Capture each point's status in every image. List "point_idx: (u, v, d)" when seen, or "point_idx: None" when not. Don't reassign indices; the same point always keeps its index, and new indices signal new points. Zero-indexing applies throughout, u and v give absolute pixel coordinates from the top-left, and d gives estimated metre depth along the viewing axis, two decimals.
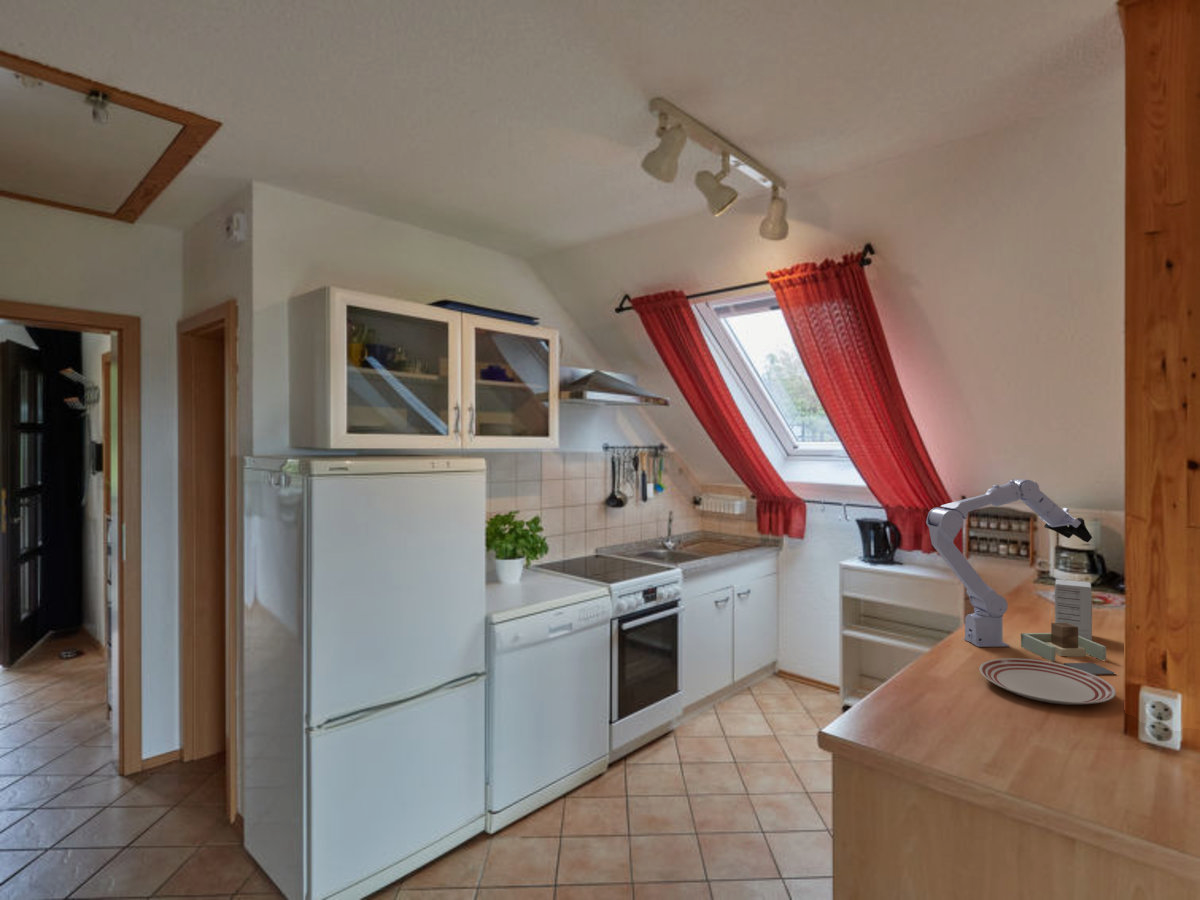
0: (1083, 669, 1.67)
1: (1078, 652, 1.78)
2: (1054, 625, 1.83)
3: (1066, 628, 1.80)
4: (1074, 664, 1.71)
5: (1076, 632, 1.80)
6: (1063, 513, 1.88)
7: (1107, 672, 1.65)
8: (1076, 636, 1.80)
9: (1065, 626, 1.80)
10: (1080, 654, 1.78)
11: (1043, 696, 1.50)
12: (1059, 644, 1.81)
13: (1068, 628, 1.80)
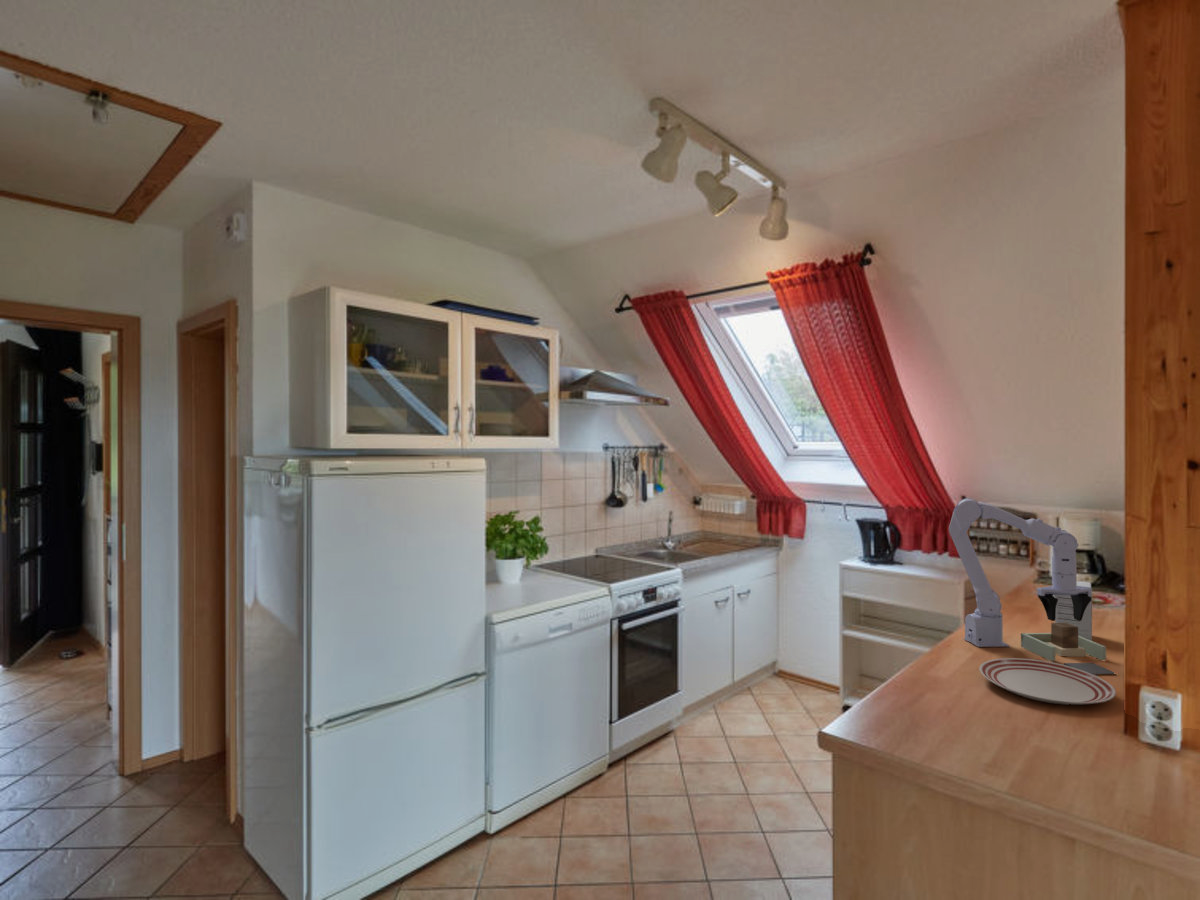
0: (1083, 669, 1.67)
1: (1078, 652, 1.78)
2: (1054, 625, 1.83)
3: (1066, 628, 1.80)
4: (1074, 664, 1.71)
5: (1076, 632, 1.80)
6: (1059, 586, 1.80)
7: (1107, 672, 1.65)
8: (1076, 636, 1.80)
9: (1065, 626, 1.80)
10: (1080, 654, 1.78)
11: (1043, 696, 1.50)
12: (1059, 644, 1.81)
13: (1068, 628, 1.80)
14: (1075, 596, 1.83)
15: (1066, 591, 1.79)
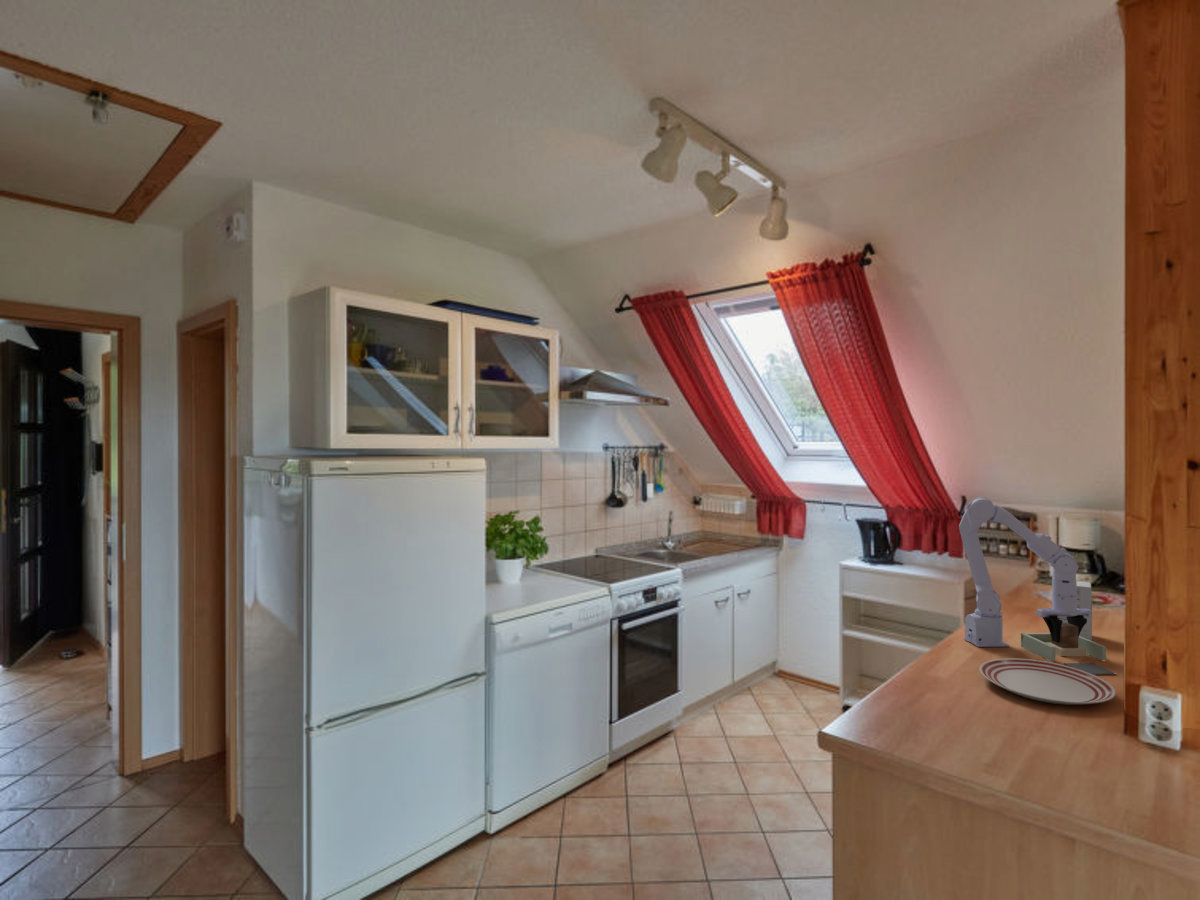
0: (1083, 669, 1.67)
1: (1078, 652, 1.78)
2: None
3: (1066, 628, 1.80)
4: (1074, 664, 1.71)
5: (1076, 632, 1.80)
6: (1059, 608, 1.81)
7: (1107, 672, 1.65)
8: (1076, 636, 1.80)
9: (1065, 626, 1.80)
10: (1080, 654, 1.78)
11: (1043, 696, 1.50)
12: (1059, 644, 1.81)
13: (1068, 628, 1.80)
14: (1071, 617, 1.83)
15: (1066, 613, 1.79)
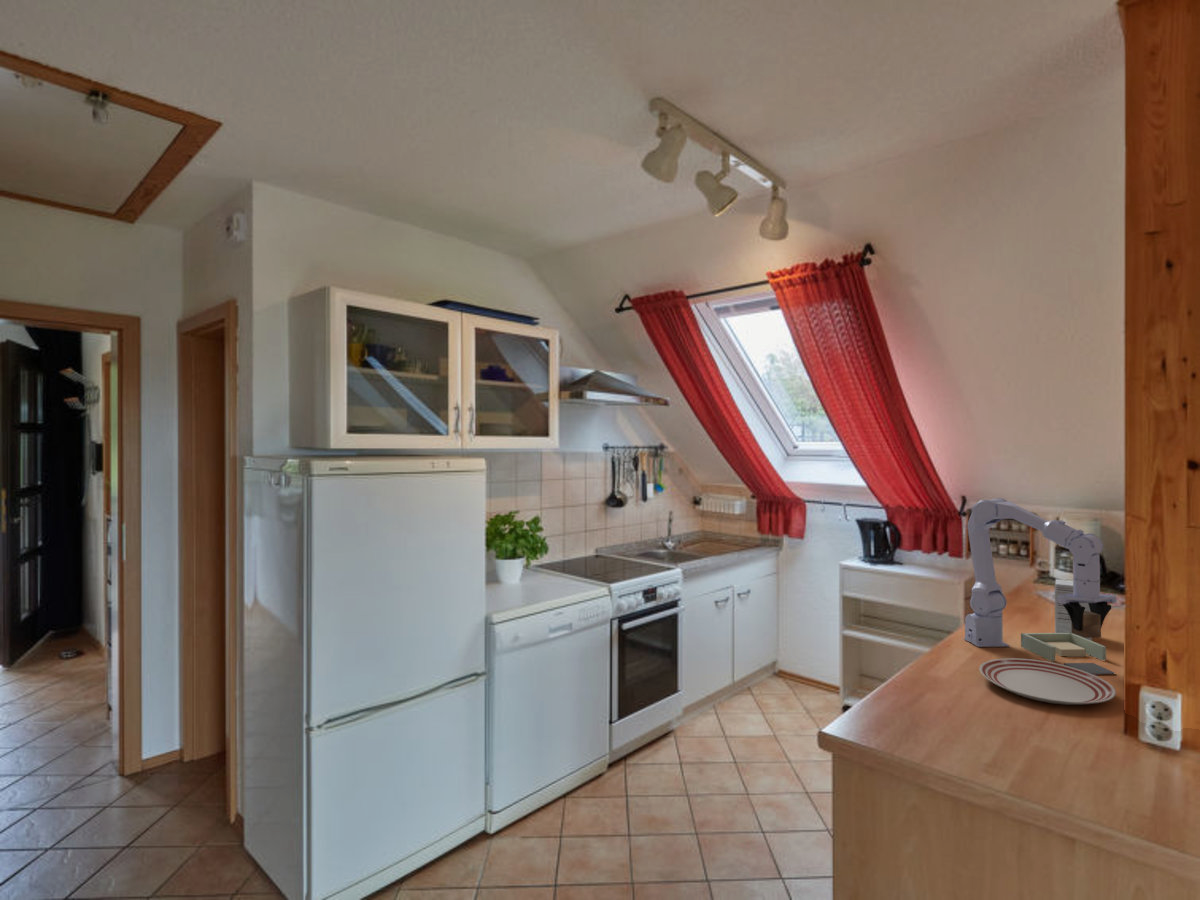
0: (1083, 669, 1.67)
1: (1078, 652, 1.78)
2: None
3: (1088, 616, 1.68)
4: (1074, 664, 1.71)
5: (1098, 620, 1.68)
6: (1081, 593, 1.68)
7: (1107, 672, 1.65)
8: (1098, 625, 1.68)
9: (1086, 614, 1.68)
10: (1080, 654, 1.78)
11: (1043, 696, 1.50)
12: (1080, 633, 1.69)
13: (1090, 616, 1.68)
14: (1093, 604, 1.70)
15: (1089, 599, 1.67)
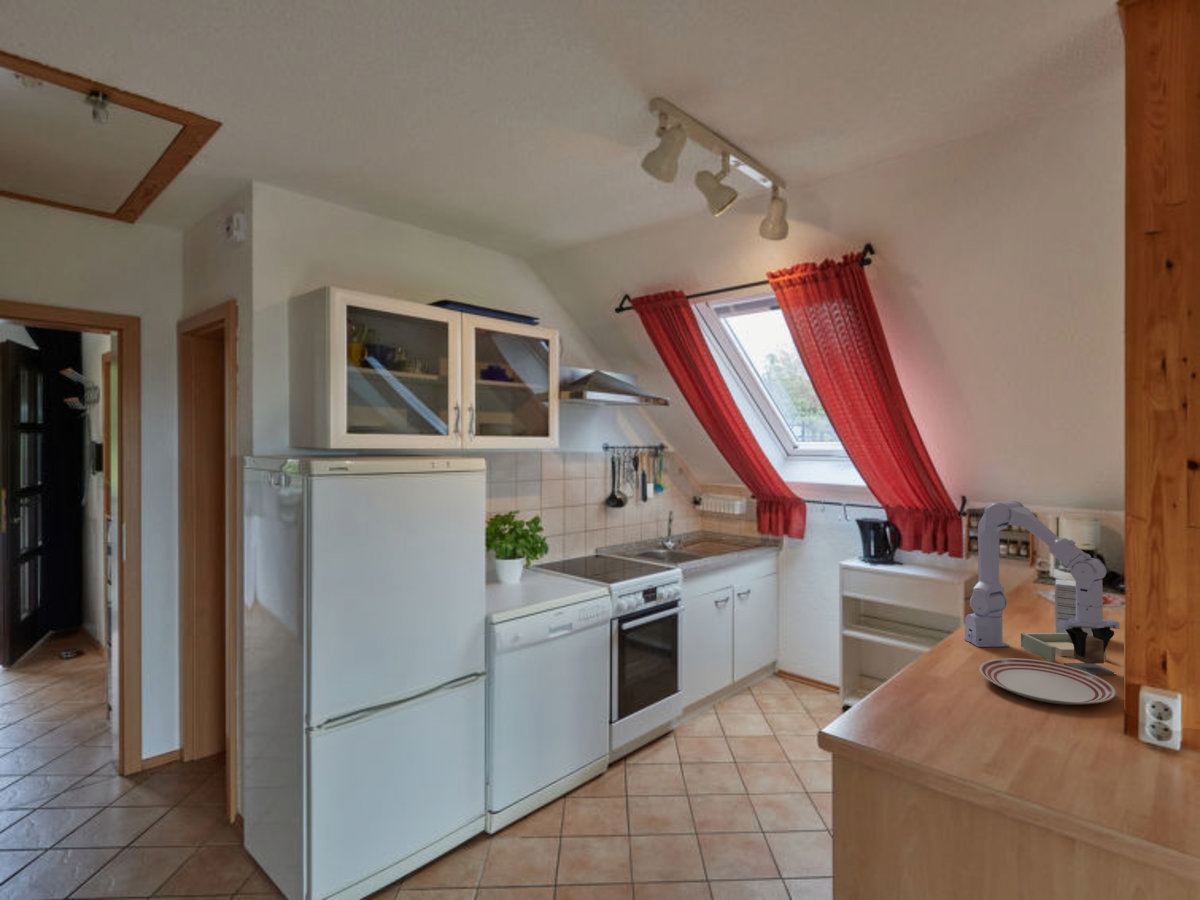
0: (1083, 669, 1.67)
1: None
2: None
3: (1090, 642, 1.66)
4: (1074, 664, 1.71)
5: (1101, 646, 1.66)
6: (1084, 619, 1.67)
7: (1107, 672, 1.65)
8: (1101, 650, 1.66)
9: (1089, 640, 1.67)
10: None
11: (1043, 696, 1.50)
12: (1083, 659, 1.67)
13: (1092, 642, 1.66)
14: (1096, 629, 1.69)
15: (1092, 625, 1.65)
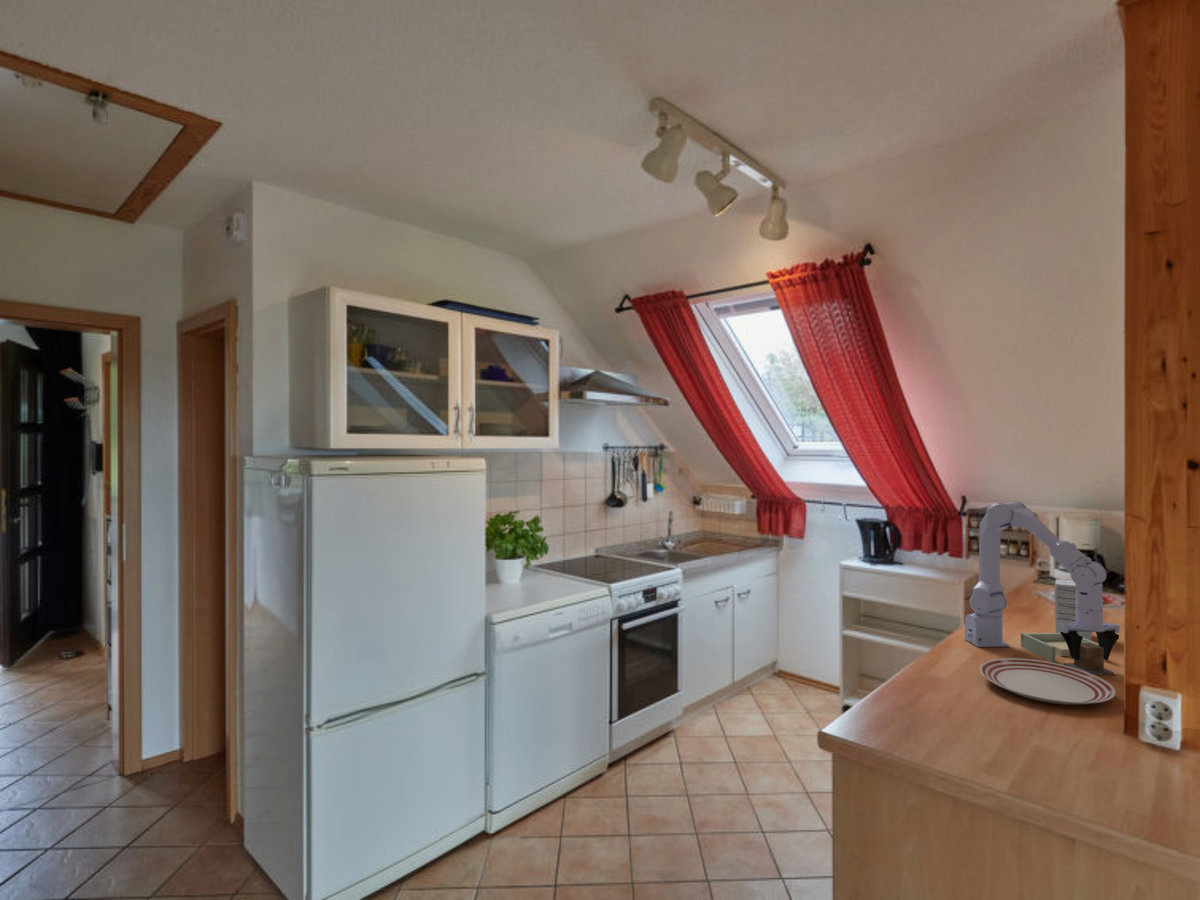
0: (1083, 669, 1.67)
1: None
2: None
3: (1091, 649, 1.66)
4: None
5: (1101, 654, 1.66)
6: (1084, 623, 1.67)
7: (1107, 672, 1.65)
8: (1101, 658, 1.66)
9: (1089, 647, 1.67)
10: None
11: (1043, 696, 1.50)
12: (1083, 666, 1.67)
13: (1093, 649, 1.66)
14: (1101, 633, 1.69)
15: (1092, 628, 1.65)
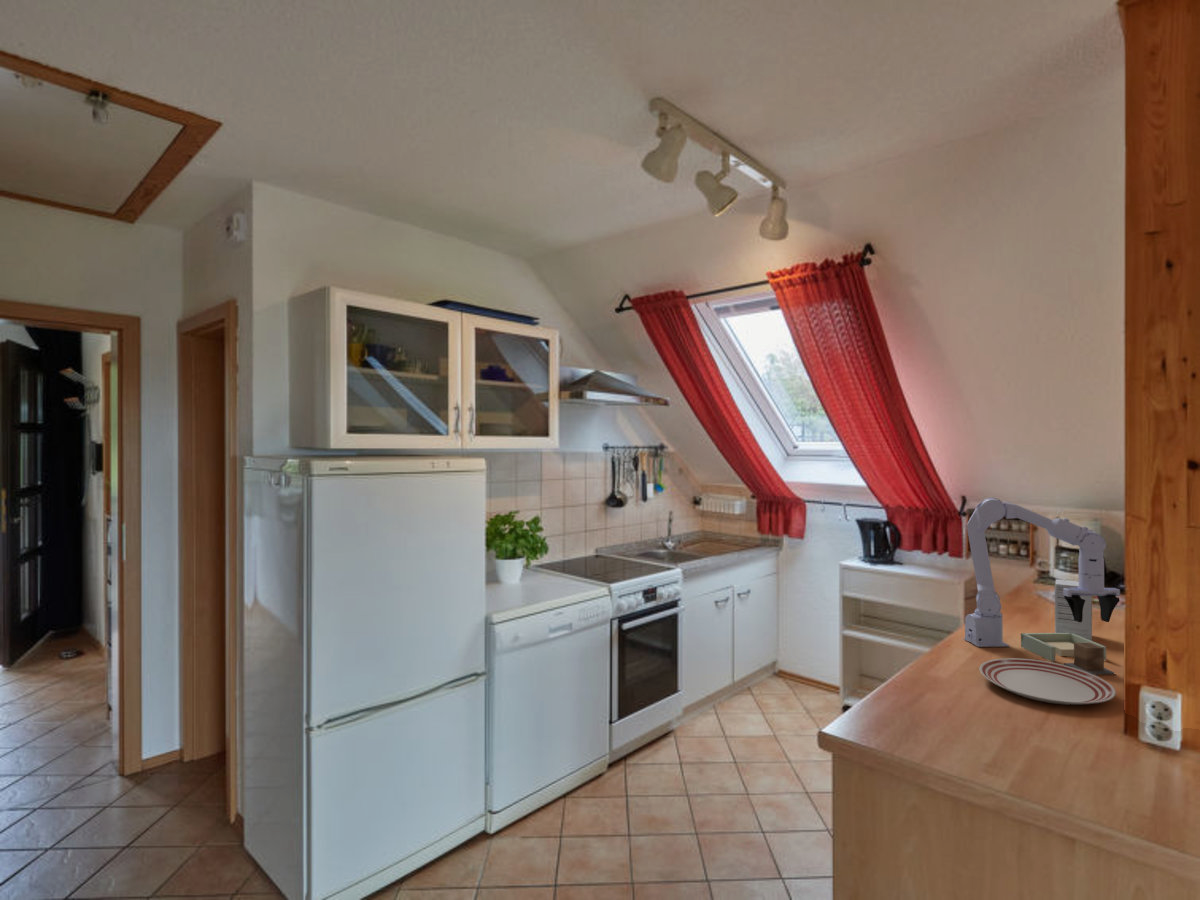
0: (1083, 669, 1.67)
1: None
2: (1077, 646, 1.69)
3: (1091, 649, 1.66)
4: None
5: (1101, 654, 1.66)
6: (1086, 587, 1.77)
7: (1107, 672, 1.65)
8: (1101, 658, 1.66)
9: (1089, 647, 1.67)
10: None
11: (1043, 696, 1.50)
12: (1083, 666, 1.67)
13: (1093, 649, 1.66)
14: (1102, 597, 1.79)
15: (1093, 592, 1.76)
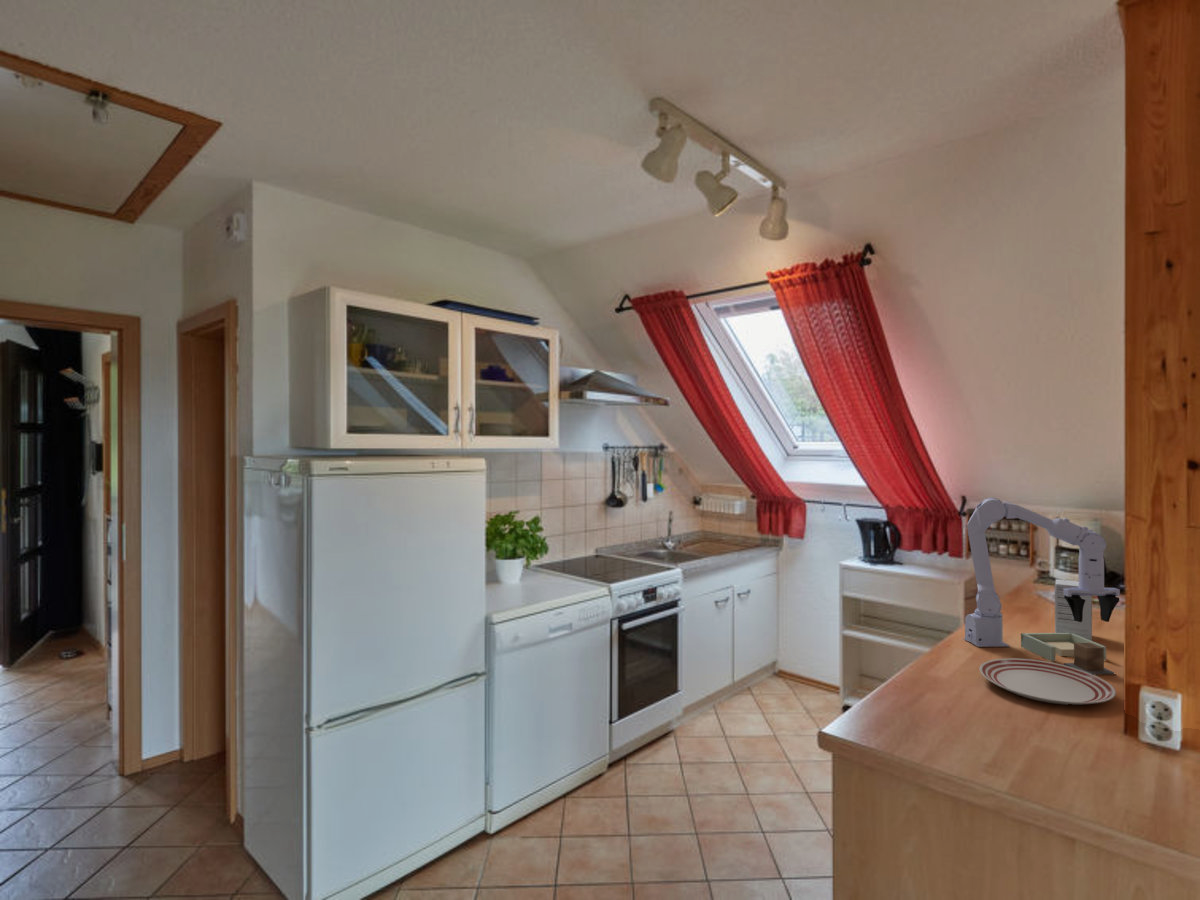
0: (1083, 669, 1.67)
1: None
2: (1077, 646, 1.69)
3: (1091, 649, 1.66)
4: None
5: (1101, 654, 1.66)
6: (1086, 587, 1.77)
7: (1107, 672, 1.65)
8: (1101, 658, 1.66)
9: (1089, 647, 1.67)
10: None
11: (1043, 696, 1.50)
12: (1083, 666, 1.67)
13: (1093, 649, 1.66)
14: (1102, 597, 1.79)
15: (1094, 592, 1.76)
